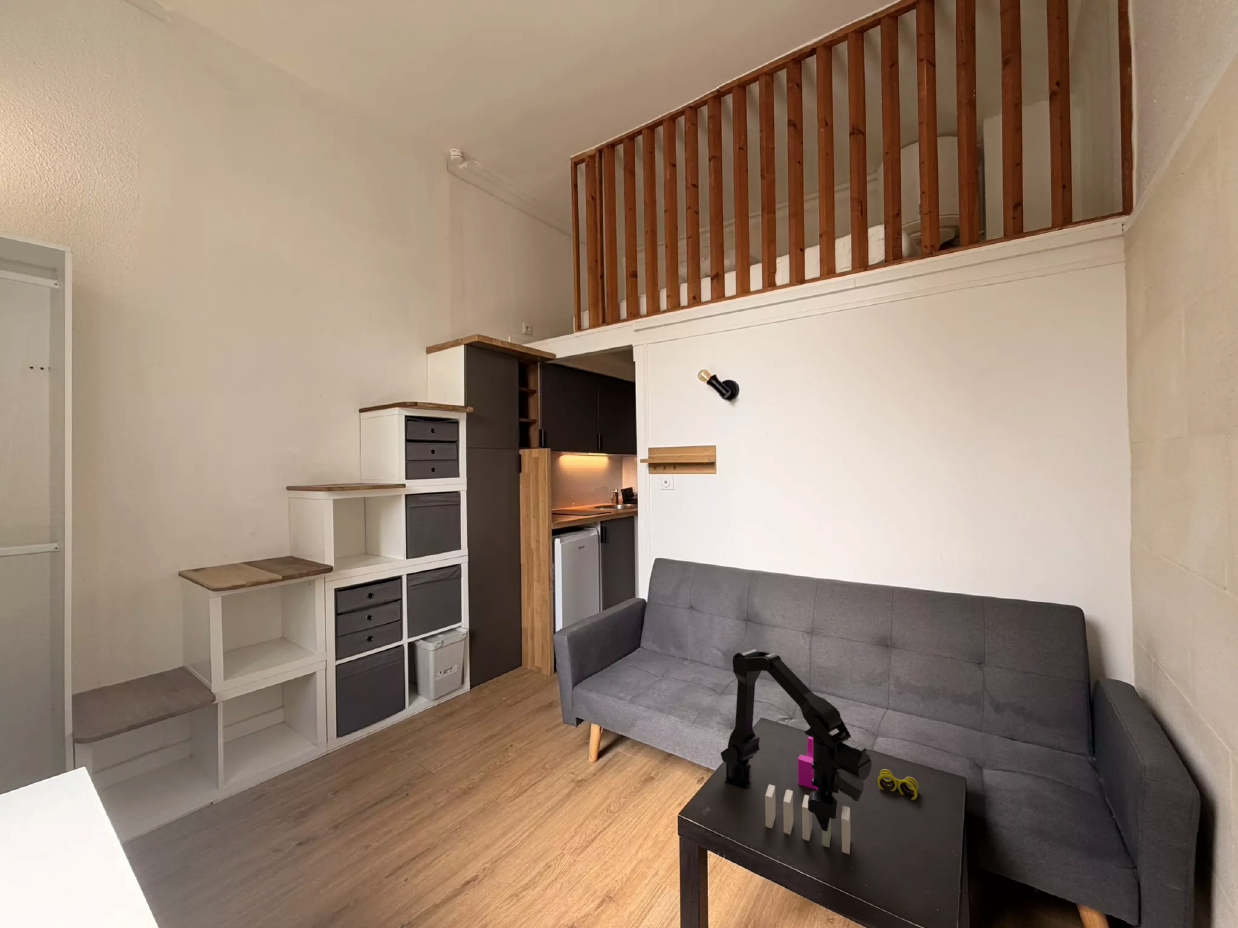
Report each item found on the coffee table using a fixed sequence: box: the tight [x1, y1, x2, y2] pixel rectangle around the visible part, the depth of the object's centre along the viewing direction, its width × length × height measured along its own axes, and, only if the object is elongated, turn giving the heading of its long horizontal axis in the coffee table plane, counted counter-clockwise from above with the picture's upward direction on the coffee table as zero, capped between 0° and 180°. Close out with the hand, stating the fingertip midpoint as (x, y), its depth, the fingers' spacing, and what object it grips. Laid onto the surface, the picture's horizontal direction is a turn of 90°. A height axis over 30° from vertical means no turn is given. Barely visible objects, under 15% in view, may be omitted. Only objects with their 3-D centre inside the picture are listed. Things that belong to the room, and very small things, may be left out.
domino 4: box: [840, 805, 851, 855], centre depth 119 cm, size 2×5×8 cm, turn 152°
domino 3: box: [801, 794, 813, 842], centre depth 123 cm, size 2×5×8 cm, turn 152°
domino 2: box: [782, 789, 794, 835], centre depth 125 cm, size 2×5×8 cm, turn 152°
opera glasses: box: [877, 768, 919, 801], centre depth 138 cm, size 10×5×5 cm, turn 54°
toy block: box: [797, 736, 818, 791], centre depth 147 cm, size 15×6×8 cm, turn 147°
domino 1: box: [764, 783, 777, 829], centre depth 128 cm, size 2×5×8 cm, turn 152°
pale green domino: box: [821, 818, 832, 848], centre depth 121 cm, size 2×5×8 cm, turn 152°
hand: (826, 820), depth 121 cm, fingers open, 7 cm apart
